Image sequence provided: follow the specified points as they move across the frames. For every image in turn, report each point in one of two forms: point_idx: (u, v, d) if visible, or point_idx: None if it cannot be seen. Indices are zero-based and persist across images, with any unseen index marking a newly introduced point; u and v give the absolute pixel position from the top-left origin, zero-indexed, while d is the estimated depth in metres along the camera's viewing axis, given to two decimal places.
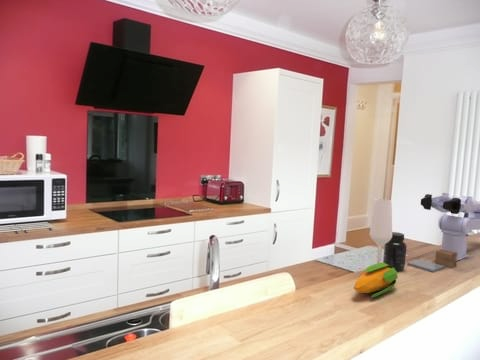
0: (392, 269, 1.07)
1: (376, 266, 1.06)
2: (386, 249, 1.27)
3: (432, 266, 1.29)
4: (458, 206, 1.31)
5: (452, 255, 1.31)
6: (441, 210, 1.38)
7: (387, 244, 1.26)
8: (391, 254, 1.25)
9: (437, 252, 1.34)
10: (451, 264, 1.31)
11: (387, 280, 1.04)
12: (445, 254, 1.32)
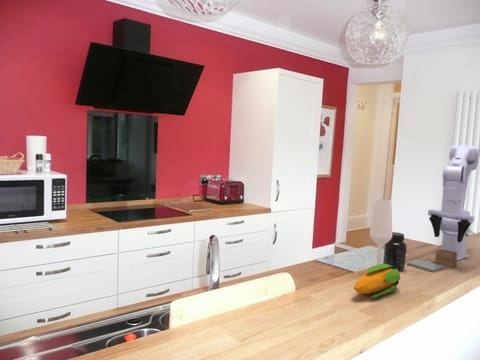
0: (394, 270, 1.07)
1: (378, 267, 1.05)
2: (386, 249, 1.27)
3: (432, 266, 1.29)
4: (467, 224, 1.28)
5: (452, 255, 1.31)
6: None
7: (387, 244, 1.26)
8: (390, 254, 1.25)
9: (437, 252, 1.34)
10: (451, 264, 1.31)
11: (389, 281, 1.03)
12: (445, 254, 1.32)
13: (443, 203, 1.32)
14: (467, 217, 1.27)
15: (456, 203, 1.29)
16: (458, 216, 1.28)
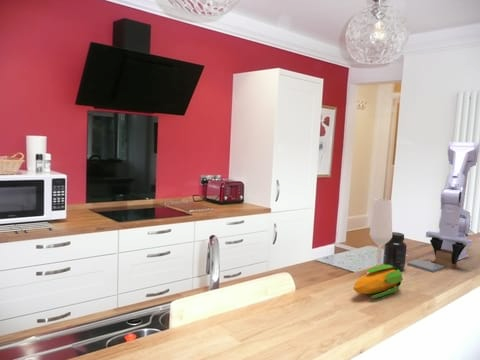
0: (396, 271, 1.06)
1: (379, 267, 1.05)
2: (386, 249, 1.27)
3: (432, 266, 1.29)
4: (462, 246, 1.30)
5: (452, 255, 1.31)
6: None
7: (387, 244, 1.26)
8: (390, 254, 1.25)
9: (437, 252, 1.34)
10: (451, 264, 1.31)
11: (390, 281, 1.03)
12: (445, 254, 1.32)
13: (441, 226, 1.32)
14: (465, 241, 1.28)
15: (454, 226, 1.30)
16: (456, 239, 1.29)
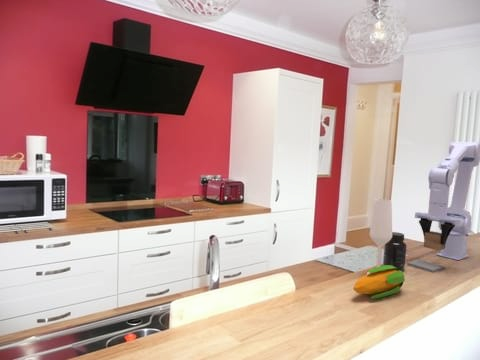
0: (398, 272, 1.05)
1: (380, 268, 1.05)
2: (386, 249, 1.27)
3: (432, 266, 1.29)
4: None
5: None
6: None
7: (387, 244, 1.26)
8: (390, 254, 1.25)
9: (426, 234, 1.31)
10: (440, 246, 1.29)
11: (391, 282, 1.02)
12: (434, 236, 1.29)
13: (430, 206, 1.30)
14: (454, 220, 1.25)
15: (443, 206, 1.27)
16: (445, 219, 1.27)
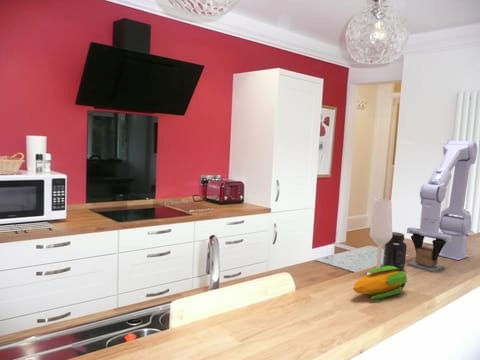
0: (400, 273, 1.05)
1: (381, 268, 1.04)
2: (386, 249, 1.27)
3: (432, 266, 1.29)
4: (442, 242, 1.27)
5: (432, 253, 1.28)
6: None
7: (387, 244, 1.26)
8: (390, 254, 1.25)
9: (417, 250, 1.31)
10: (432, 262, 1.29)
11: (392, 283, 1.02)
12: (425, 252, 1.29)
13: (422, 222, 1.30)
14: (445, 236, 1.25)
15: (434, 222, 1.27)
16: (436, 235, 1.26)
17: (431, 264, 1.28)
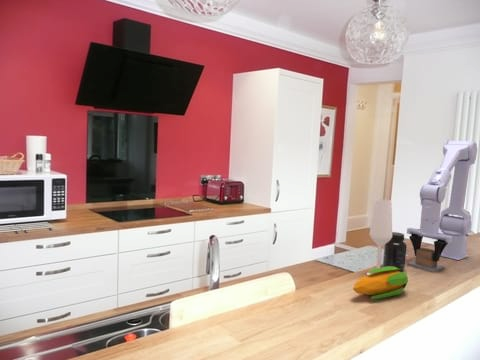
0: (400, 273, 1.04)
1: (382, 269, 1.04)
2: (386, 249, 1.27)
3: None
4: (444, 243, 1.26)
5: (432, 254, 1.28)
6: None
7: (387, 244, 1.26)
8: (390, 254, 1.25)
9: (417, 251, 1.31)
10: (431, 263, 1.29)
11: (392, 283, 1.01)
12: (425, 253, 1.29)
13: (422, 222, 1.30)
14: (445, 237, 1.25)
15: (434, 222, 1.27)
16: (436, 236, 1.26)
17: (431, 265, 1.28)
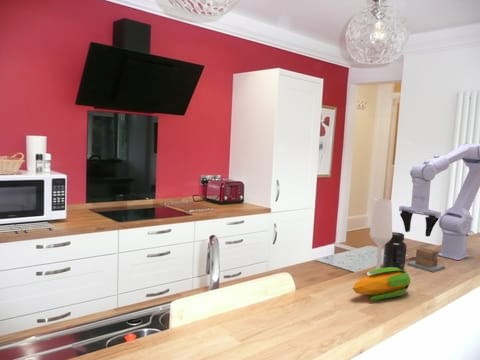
0: (402, 274, 1.03)
1: (383, 269, 1.04)
2: (386, 249, 1.27)
3: None
4: None
5: (432, 254, 1.28)
6: None
7: (387, 244, 1.26)
8: (390, 254, 1.25)
9: (417, 251, 1.31)
10: (431, 263, 1.29)
11: (393, 284, 1.01)
12: (425, 253, 1.29)
13: (413, 199, 1.38)
14: (434, 213, 1.33)
15: (424, 199, 1.36)
16: (426, 212, 1.35)
17: (431, 265, 1.28)
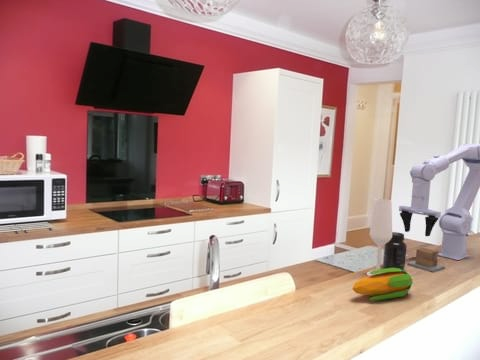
0: (404, 275, 1.03)
1: (384, 270, 1.03)
2: (386, 249, 1.27)
3: None
4: (434, 219, 1.35)
5: (432, 254, 1.28)
6: None
7: (387, 244, 1.26)
8: (390, 254, 1.25)
9: (417, 251, 1.31)
10: (431, 263, 1.29)
11: (394, 285, 1.00)
12: (425, 253, 1.29)
13: (412, 199, 1.38)
14: (434, 212, 1.34)
15: (424, 199, 1.36)
16: (426, 212, 1.35)
17: (431, 265, 1.28)
